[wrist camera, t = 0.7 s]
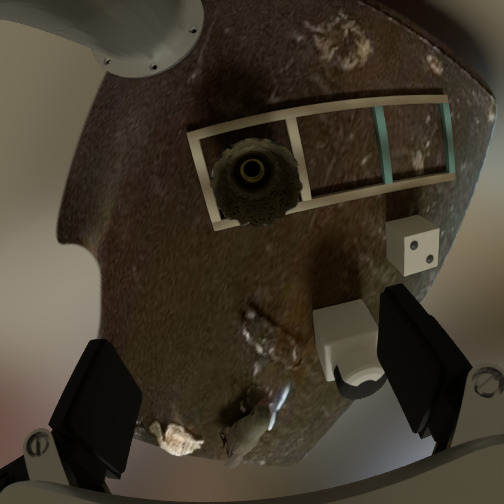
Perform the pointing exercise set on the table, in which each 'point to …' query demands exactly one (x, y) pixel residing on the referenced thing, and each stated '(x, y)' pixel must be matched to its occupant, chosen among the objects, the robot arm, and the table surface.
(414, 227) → the die
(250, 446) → the decorative bird
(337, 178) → the table surface
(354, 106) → the ladder
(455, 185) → the table surface
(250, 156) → the dark patterned vase
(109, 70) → the robot arm
